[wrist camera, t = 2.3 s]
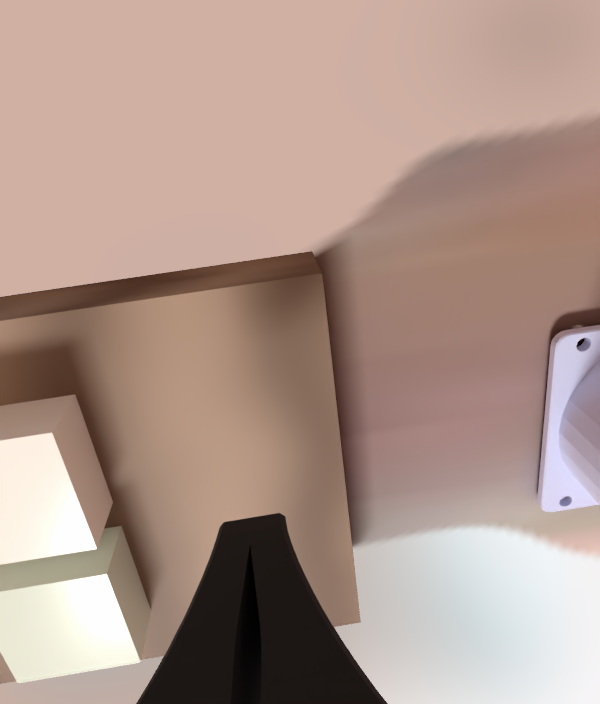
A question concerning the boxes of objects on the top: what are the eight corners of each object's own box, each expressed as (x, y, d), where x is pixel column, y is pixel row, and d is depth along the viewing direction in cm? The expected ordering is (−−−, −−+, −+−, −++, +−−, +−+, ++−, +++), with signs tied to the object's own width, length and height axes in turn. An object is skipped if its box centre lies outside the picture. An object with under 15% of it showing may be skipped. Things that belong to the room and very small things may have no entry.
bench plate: (311, 251, 17) (322, 273, 14) (348, 571, 23) (360, 622, 20) (-137, 317, 16) (-200, 350, 14) (20, 625, 22) (-5, 684, 20)
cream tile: (75, 394, 15) (51, 432, 13) (113, 502, 17) (97, 548, 15) (-65, 415, 15) (-108, 457, 13) (-13, 522, 17) (-44, 571, 15)
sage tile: (121, 525, 17) (106, 574, 15) (150, 609, 19) (140, 662, 17) (-2, 545, 17) (-31, 596, 15) (39, 628, 19) (17, 683, 17)
